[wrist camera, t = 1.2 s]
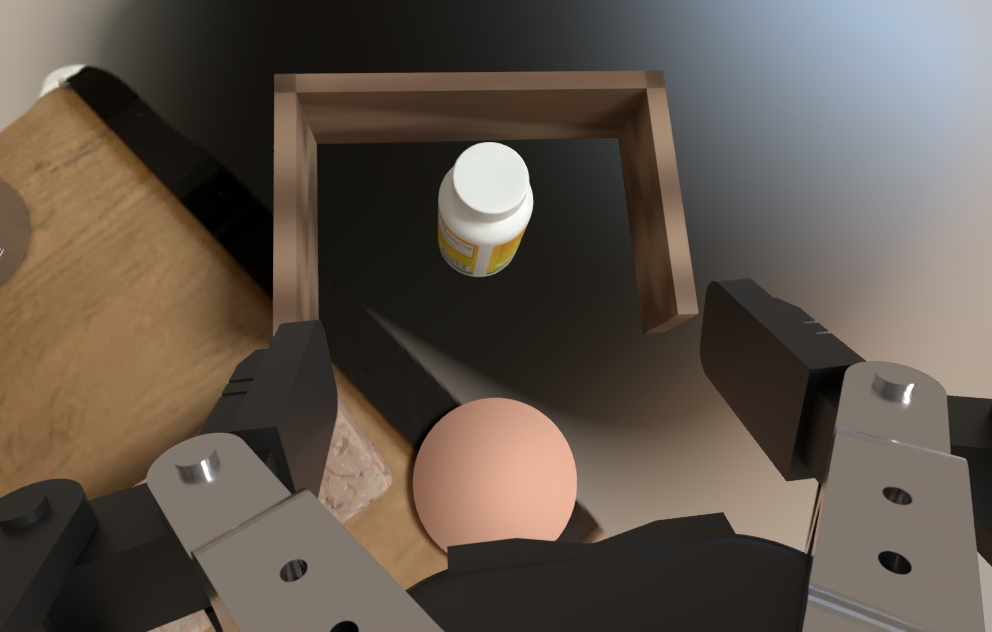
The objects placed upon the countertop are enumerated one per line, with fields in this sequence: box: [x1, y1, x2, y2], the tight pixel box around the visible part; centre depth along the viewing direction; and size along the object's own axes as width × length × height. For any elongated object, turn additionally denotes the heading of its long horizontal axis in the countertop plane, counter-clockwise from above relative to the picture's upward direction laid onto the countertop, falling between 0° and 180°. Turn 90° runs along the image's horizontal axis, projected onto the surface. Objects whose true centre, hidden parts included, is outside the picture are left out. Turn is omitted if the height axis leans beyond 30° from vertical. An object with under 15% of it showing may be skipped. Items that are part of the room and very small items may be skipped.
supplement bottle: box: [438, 142, 533, 277], centre depth 35 cm, size 5×5×10 cm
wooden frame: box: [273, 71, 698, 337], centre depth 37 cm, size 16×23×6 cm, turn 94°
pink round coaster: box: [413, 398, 577, 552], centre depth 36 cm, size 10×10×1 cm
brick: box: [133, 396, 392, 632], centre depth 33 cm, size 17×8×5 cm, turn 128°
